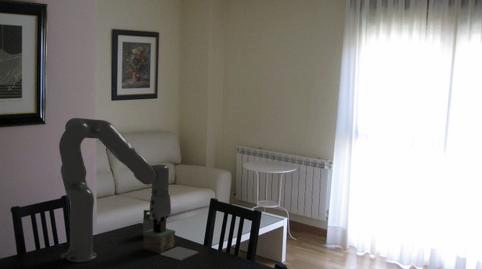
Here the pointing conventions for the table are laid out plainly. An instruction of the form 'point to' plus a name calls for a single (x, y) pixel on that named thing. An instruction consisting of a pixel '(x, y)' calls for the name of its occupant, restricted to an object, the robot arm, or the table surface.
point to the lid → (162, 233)
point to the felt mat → (179, 253)
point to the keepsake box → (159, 243)
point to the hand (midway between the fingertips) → (159, 230)
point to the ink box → (147, 221)
